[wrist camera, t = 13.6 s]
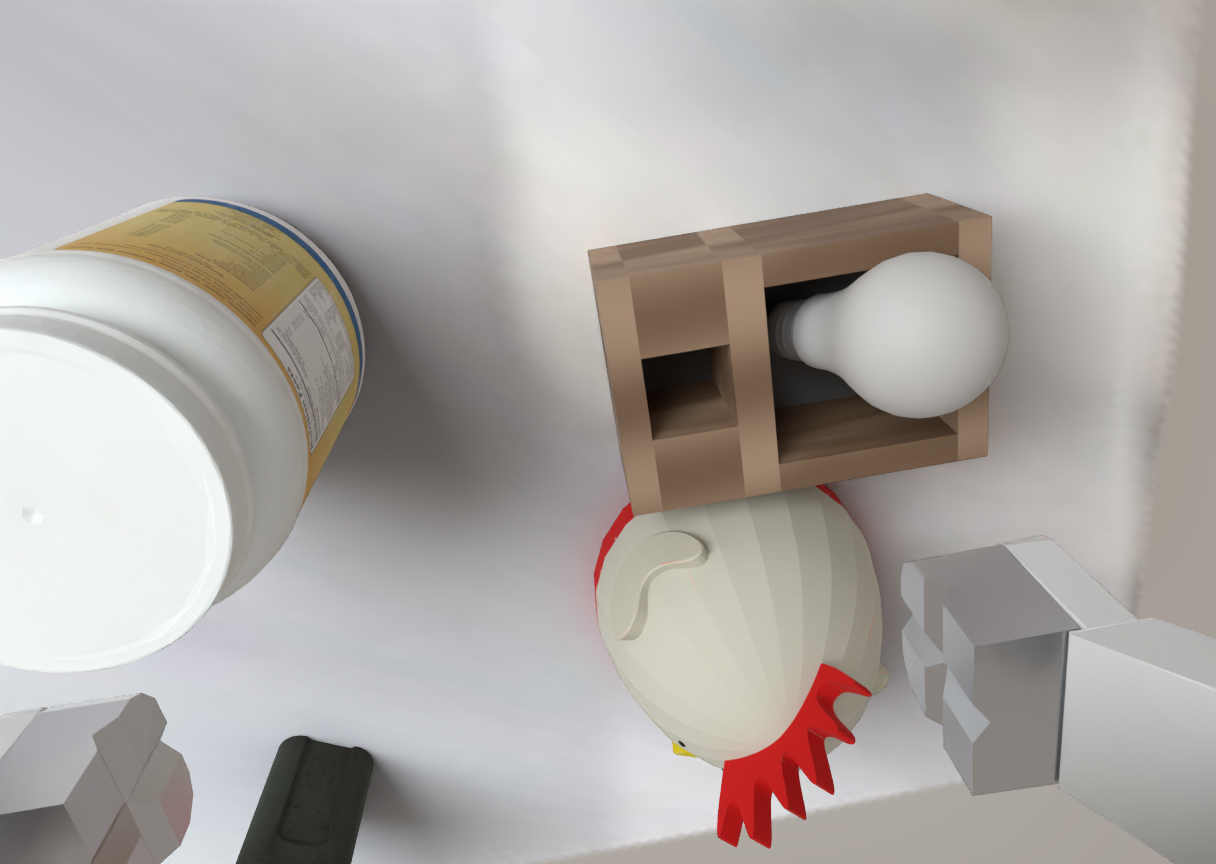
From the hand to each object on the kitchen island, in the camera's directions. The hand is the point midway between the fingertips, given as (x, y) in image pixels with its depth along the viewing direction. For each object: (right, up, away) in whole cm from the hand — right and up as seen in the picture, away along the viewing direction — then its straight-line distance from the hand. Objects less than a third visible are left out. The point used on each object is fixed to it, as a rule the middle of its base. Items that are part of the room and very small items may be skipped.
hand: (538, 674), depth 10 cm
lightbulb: (+8, +7, +30) cm, 32 cm away
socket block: (+8, +7, +31) cm, 33 cm away
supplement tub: (-16, +7, +30) cm, 34 cm away
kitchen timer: (+7, -5, +36) cm, 37 cm away
